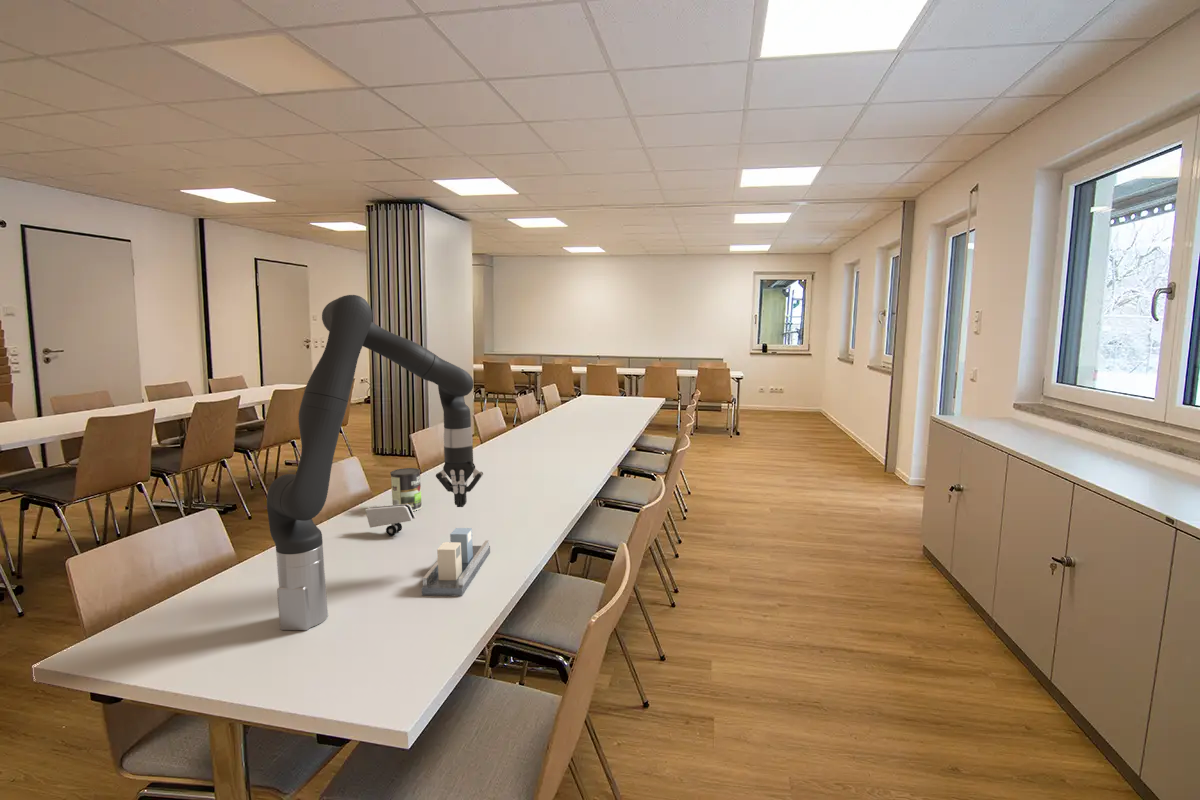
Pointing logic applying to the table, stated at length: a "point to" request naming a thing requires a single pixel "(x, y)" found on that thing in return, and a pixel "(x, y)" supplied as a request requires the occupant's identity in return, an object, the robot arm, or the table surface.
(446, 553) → the block
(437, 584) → the tray
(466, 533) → the block
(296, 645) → the table surface
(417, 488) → the coffee can
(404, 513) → the grey wheeled device
